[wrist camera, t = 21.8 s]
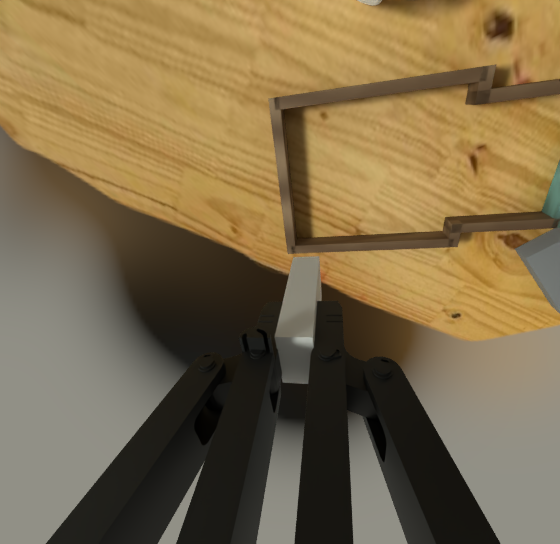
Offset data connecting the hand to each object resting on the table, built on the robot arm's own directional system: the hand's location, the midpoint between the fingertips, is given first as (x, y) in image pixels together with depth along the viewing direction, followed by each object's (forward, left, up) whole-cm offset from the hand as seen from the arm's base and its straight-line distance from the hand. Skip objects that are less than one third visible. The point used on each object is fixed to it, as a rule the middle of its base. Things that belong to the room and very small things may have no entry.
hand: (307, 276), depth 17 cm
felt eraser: (+15, +31, -25) cm, 42 cm away
